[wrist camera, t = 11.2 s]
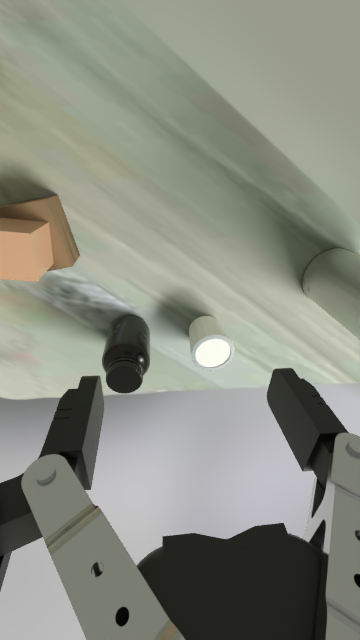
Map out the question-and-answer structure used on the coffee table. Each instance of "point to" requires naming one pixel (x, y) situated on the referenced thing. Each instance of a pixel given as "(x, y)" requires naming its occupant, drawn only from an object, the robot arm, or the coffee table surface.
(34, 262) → the tan block
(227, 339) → the white cylinder
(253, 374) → the coffee table surface
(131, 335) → the supplement bottle
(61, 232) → the walnut box
